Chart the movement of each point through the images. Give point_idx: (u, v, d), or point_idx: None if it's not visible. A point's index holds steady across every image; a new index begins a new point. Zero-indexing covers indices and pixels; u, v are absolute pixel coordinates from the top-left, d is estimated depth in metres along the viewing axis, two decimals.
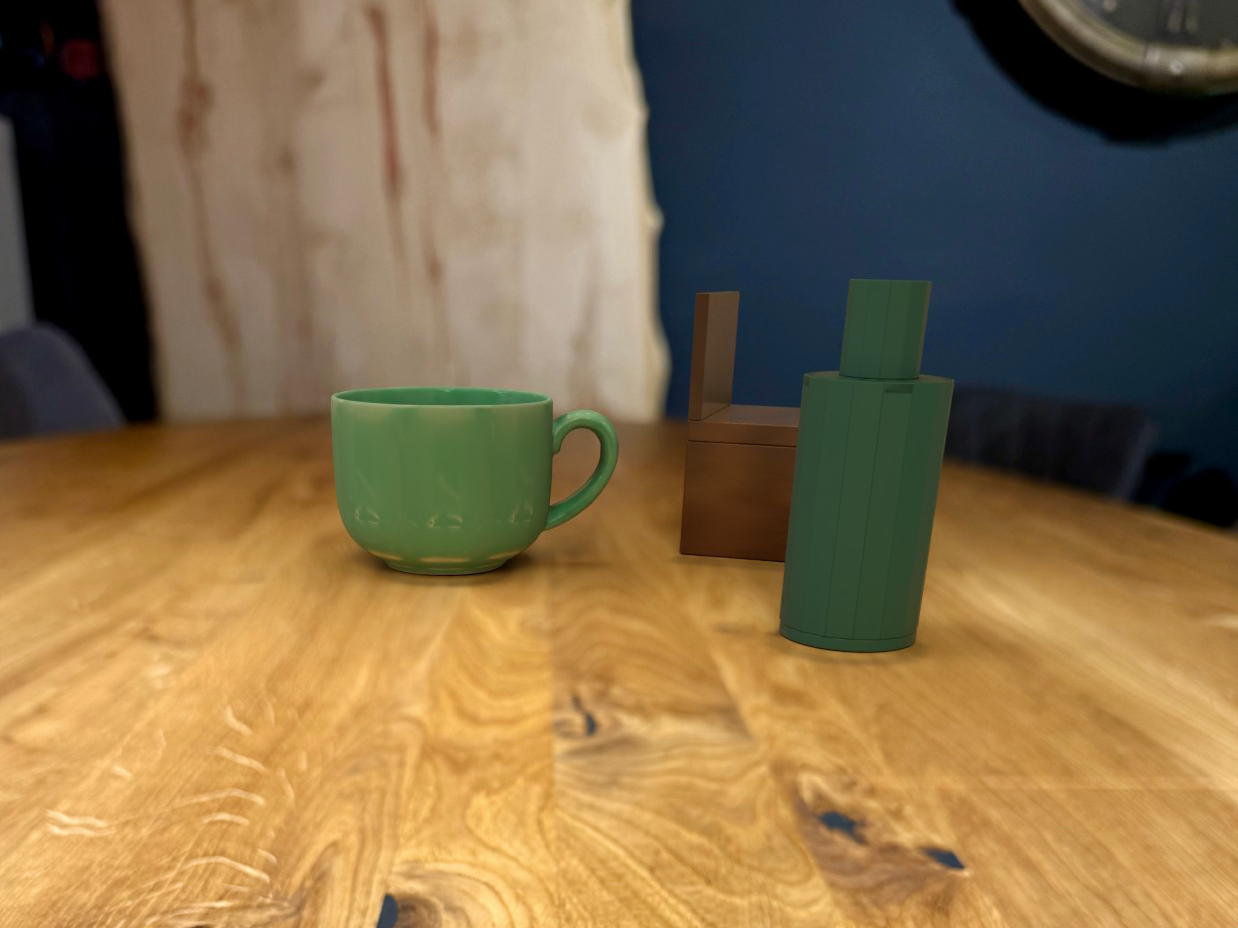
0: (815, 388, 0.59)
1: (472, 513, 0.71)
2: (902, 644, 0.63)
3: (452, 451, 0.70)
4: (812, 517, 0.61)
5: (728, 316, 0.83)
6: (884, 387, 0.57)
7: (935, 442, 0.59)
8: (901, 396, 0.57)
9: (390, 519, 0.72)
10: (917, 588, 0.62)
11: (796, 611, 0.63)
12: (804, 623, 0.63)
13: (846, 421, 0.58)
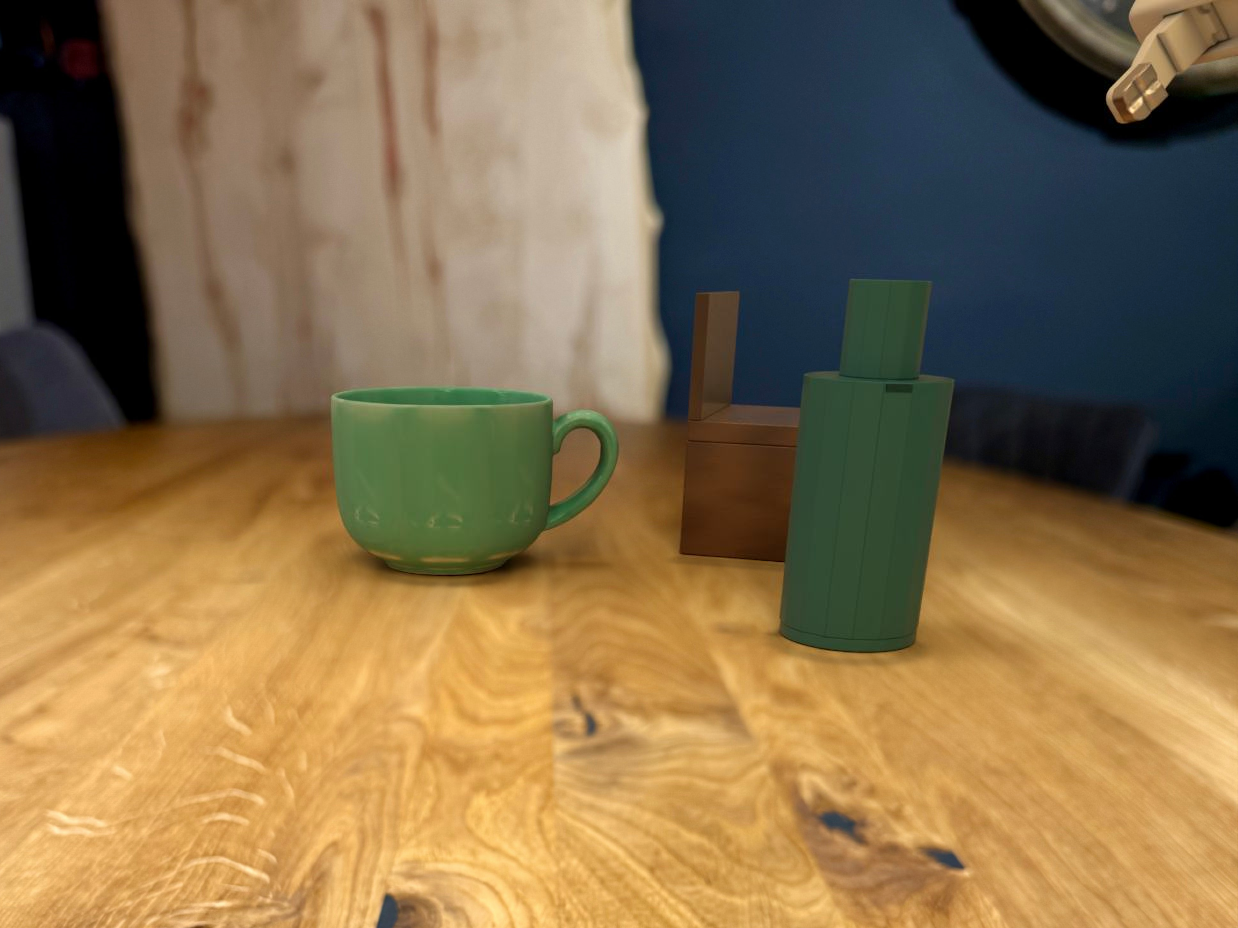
0: (815, 388, 0.59)
1: (472, 513, 0.71)
2: (902, 644, 0.63)
3: (452, 451, 0.70)
4: (812, 517, 0.61)
5: (728, 316, 0.83)
6: (884, 387, 0.57)
7: (935, 442, 0.59)
8: (901, 396, 0.57)
9: (390, 519, 0.72)
10: (917, 588, 0.62)
11: (796, 611, 0.63)
12: (804, 623, 0.63)
13: (846, 421, 0.58)
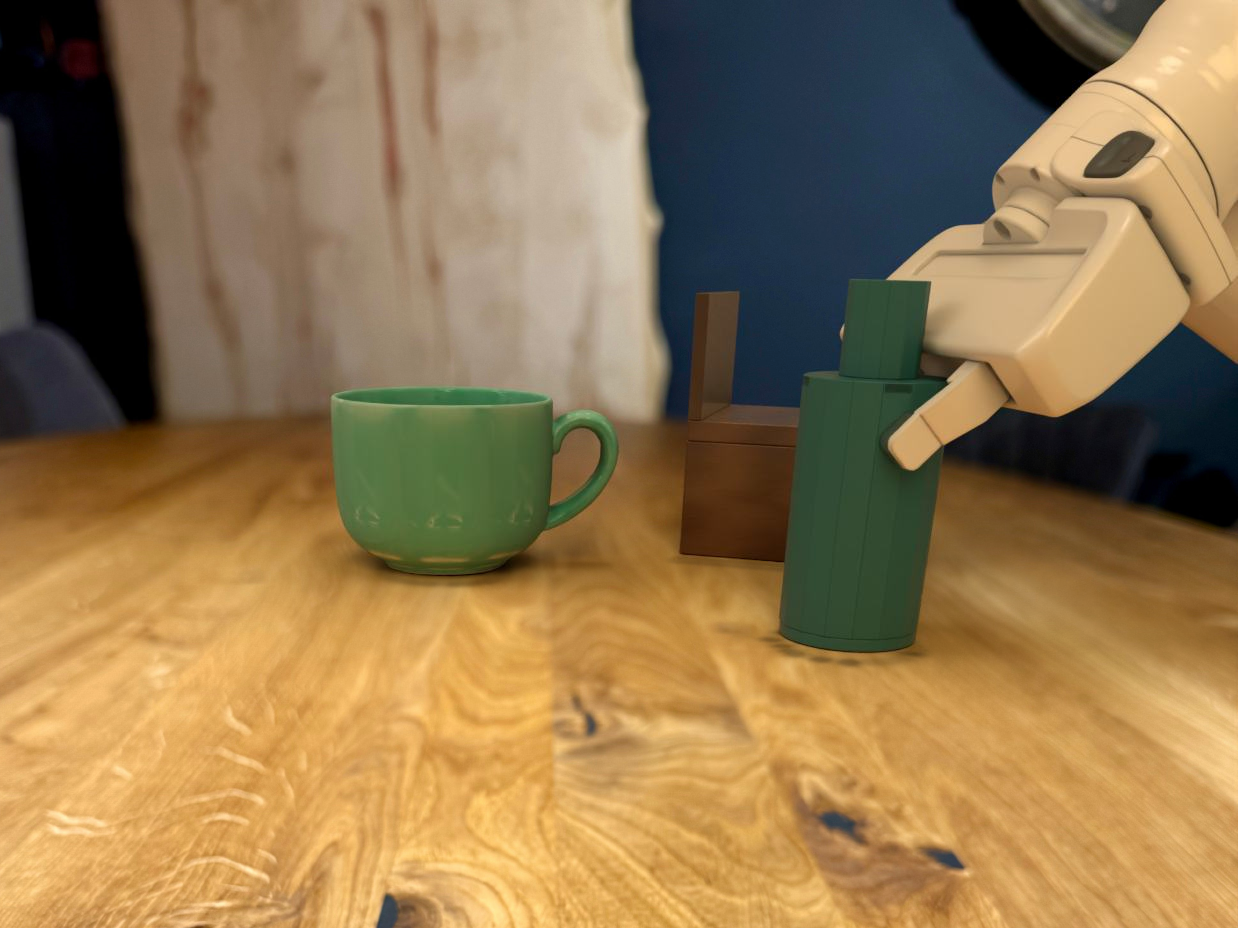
0: (815, 388, 0.59)
1: (472, 513, 0.71)
2: (902, 644, 0.63)
3: (452, 451, 0.70)
4: (812, 517, 0.61)
5: (728, 316, 0.83)
6: (884, 387, 0.57)
7: None
8: (901, 396, 0.57)
9: (390, 519, 0.72)
10: (917, 588, 0.62)
11: (796, 611, 0.63)
12: (804, 623, 0.63)
13: (846, 421, 0.58)
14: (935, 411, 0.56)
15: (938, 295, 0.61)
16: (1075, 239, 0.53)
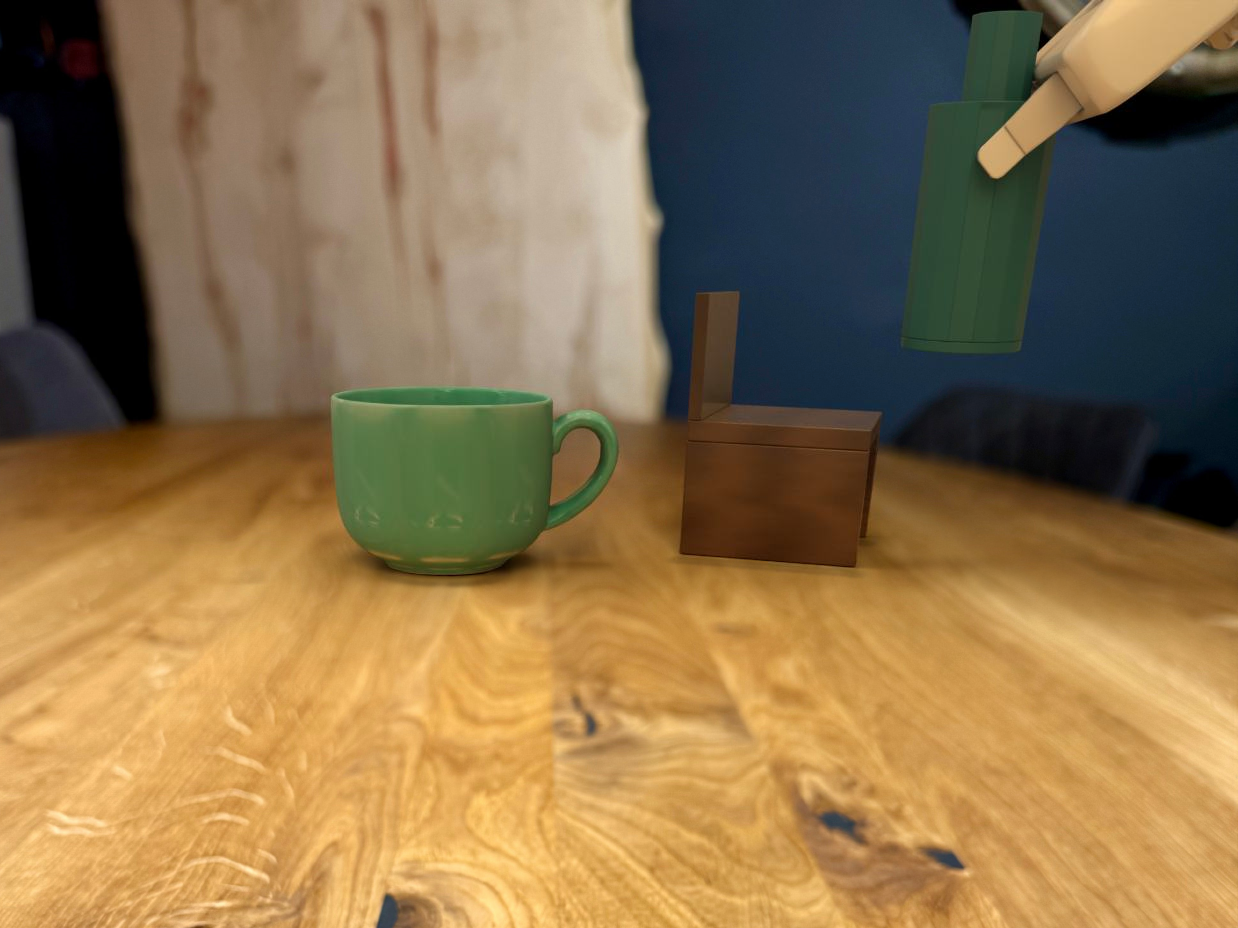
0: (931, 114, 0.70)
1: (472, 513, 0.71)
2: (996, 349, 0.73)
3: (452, 451, 0.70)
4: (922, 231, 0.72)
5: (728, 316, 0.83)
6: (980, 105, 0.67)
7: (1031, 158, 0.68)
8: (995, 113, 0.67)
9: (390, 519, 0.72)
10: (1013, 297, 0.72)
11: (908, 320, 0.74)
12: (911, 329, 0.74)
13: (949, 139, 0.69)
14: (1016, 121, 0.66)
15: (1065, 33, 0.69)
16: None
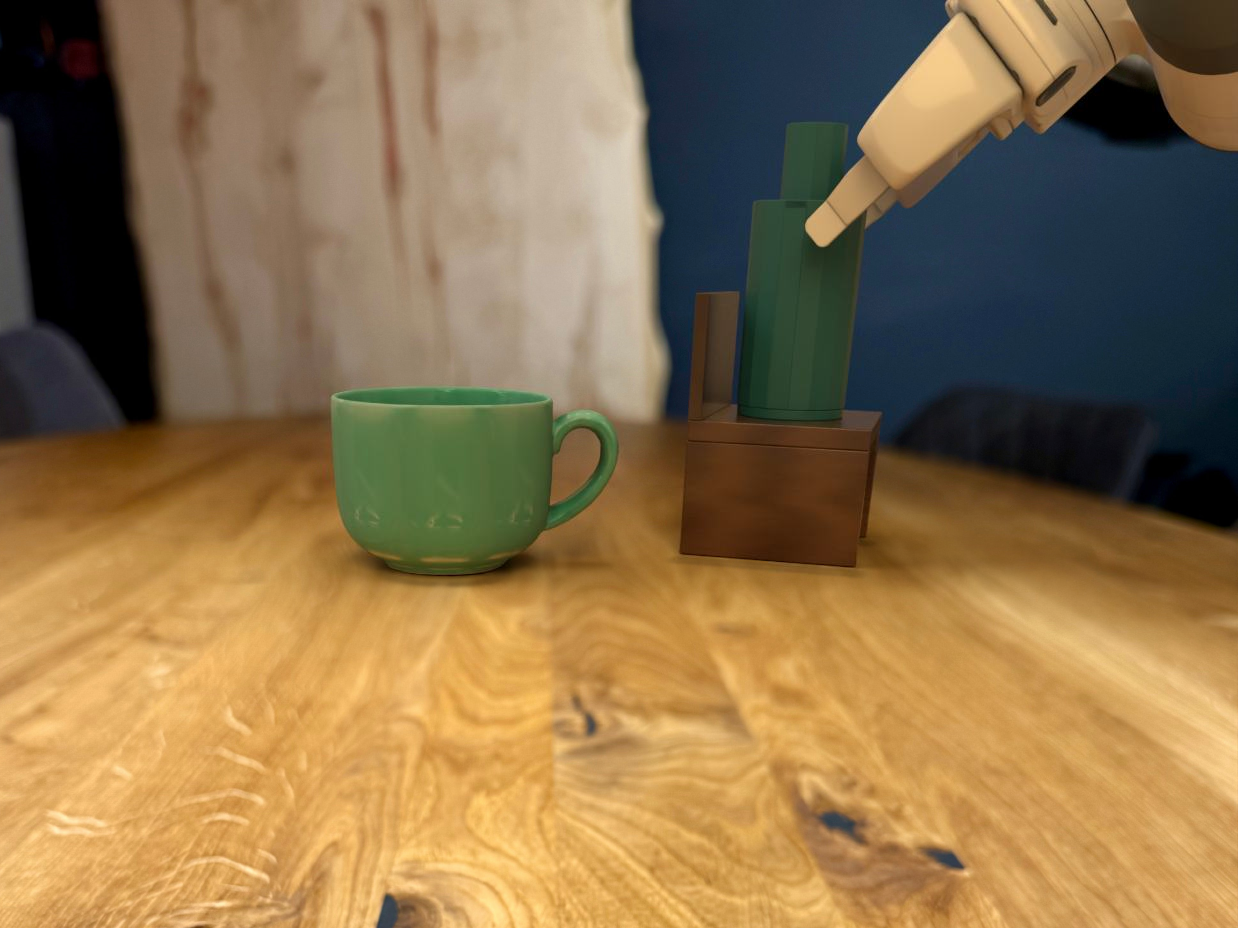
0: (753, 209, 0.79)
1: (472, 513, 0.71)
2: (810, 417, 0.81)
3: (452, 451, 0.70)
4: (747, 311, 0.80)
5: (728, 316, 0.83)
6: (785, 203, 0.76)
7: (833, 249, 0.76)
8: (797, 210, 0.76)
9: (390, 519, 0.72)
10: (825, 371, 0.80)
11: (739, 389, 0.83)
12: (740, 397, 0.82)
13: (763, 232, 0.77)
14: (835, 196, 0.72)
15: None
16: None
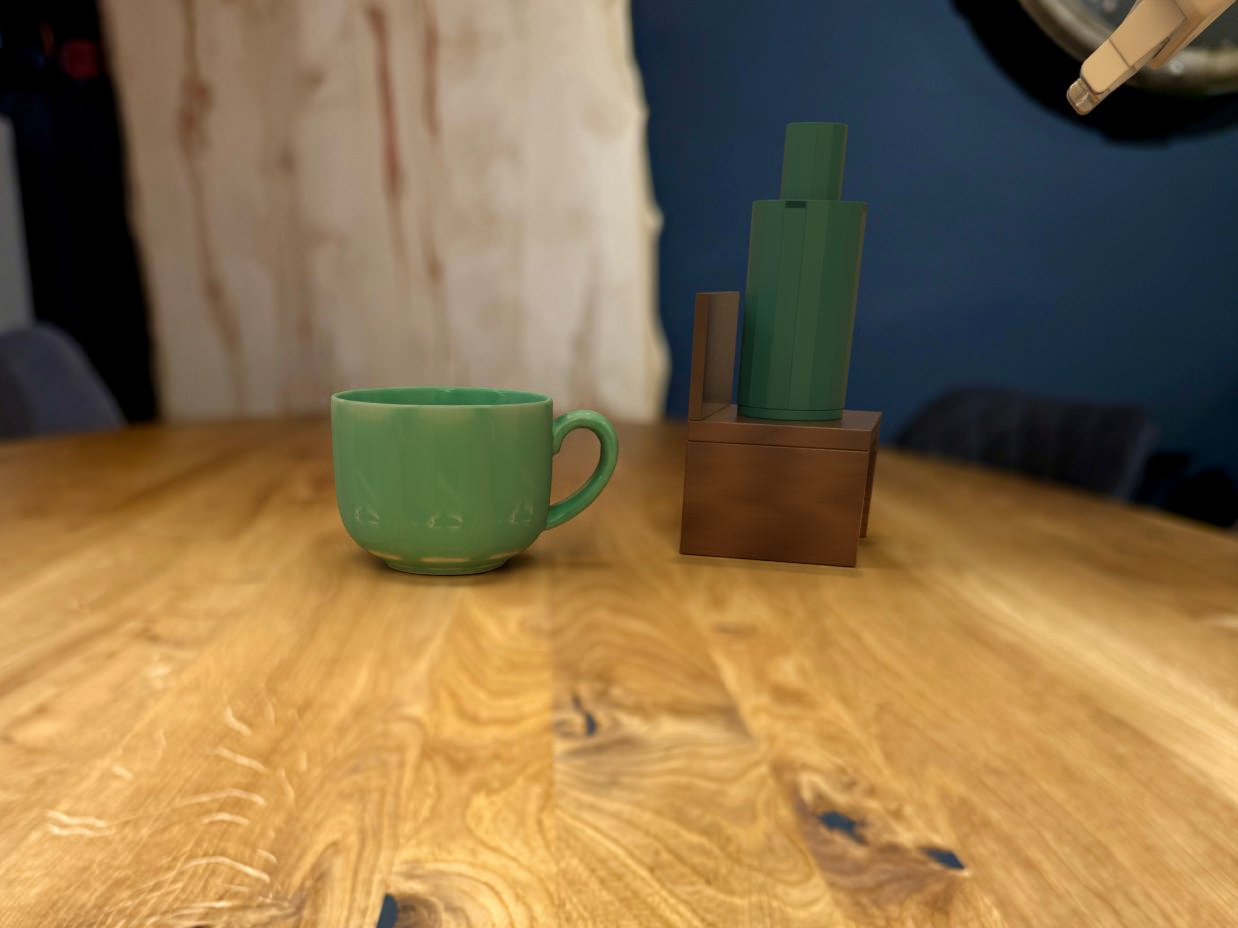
0: (752, 210, 0.79)
1: (472, 513, 0.71)
2: (810, 417, 0.81)
3: (452, 451, 0.70)
4: (747, 311, 0.80)
5: (728, 316, 0.83)
6: (784, 203, 0.76)
7: (833, 249, 0.77)
8: (797, 210, 0.76)
9: (390, 519, 0.72)
10: (824, 371, 0.80)
11: (739, 389, 0.83)
12: (740, 397, 0.82)
13: (762, 232, 0.77)
14: (1121, 33, 0.66)
15: None
16: None
